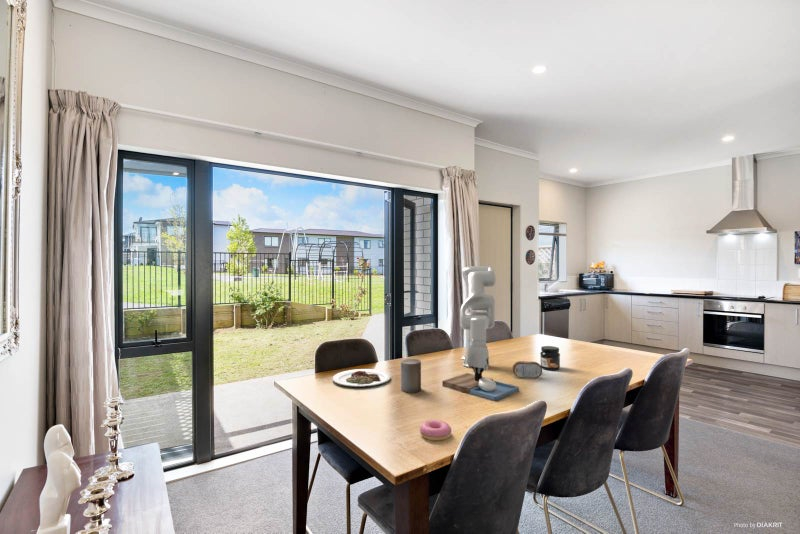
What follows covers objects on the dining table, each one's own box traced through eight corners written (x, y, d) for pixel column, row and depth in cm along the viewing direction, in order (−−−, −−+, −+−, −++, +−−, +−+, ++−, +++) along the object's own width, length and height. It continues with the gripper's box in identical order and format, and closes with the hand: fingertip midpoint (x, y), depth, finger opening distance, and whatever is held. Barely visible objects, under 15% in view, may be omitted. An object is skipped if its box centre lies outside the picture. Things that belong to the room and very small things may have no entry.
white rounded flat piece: (474, 384, 184) (475, 379, 184) (485, 381, 190) (486, 376, 189) (488, 393, 178) (489, 388, 178) (498, 389, 184) (499, 384, 183)
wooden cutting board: (442, 386, 191) (442, 380, 191) (467, 377, 205) (467, 373, 205) (469, 393, 180) (469, 388, 180) (493, 384, 193) (493, 379, 193)
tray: (469, 393, 179) (469, 389, 179) (493, 384, 193) (493, 380, 193) (495, 401, 169) (495, 396, 169) (518, 391, 183) (518, 386, 183)
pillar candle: (424, 388, 188) (424, 357, 188) (416, 394, 180) (416, 361, 179) (405, 385, 192) (405, 355, 192) (397, 391, 184) (397, 359, 183)
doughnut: (418, 429, 141) (418, 418, 141) (448, 428, 142) (448, 417, 142) (421, 443, 130) (421, 430, 130) (454, 442, 131) (454, 430, 131)
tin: (541, 377, 206) (541, 361, 206) (543, 379, 203) (543, 362, 203) (512, 376, 207) (512, 360, 207) (513, 378, 204) (513, 362, 204)
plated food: (354, 393, 181) (354, 386, 181) (321, 379, 204) (321, 373, 204) (402, 381, 201) (402, 374, 201) (367, 369, 223) (367, 363, 223)
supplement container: (541, 370, 219) (541, 349, 219) (539, 365, 229) (539, 345, 229) (561, 371, 216) (561, 350, 216) (558, 366, 227) (558, 346, 227)
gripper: (461, 341, 191) (461, 379, 191) (486, 346, 180) (486, 385, 180) (470, 339, 196) (470, 376, 196) (495, 344, 185) (496, 382, 185)
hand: (478, 380), depth 188 cm, fingers closed
